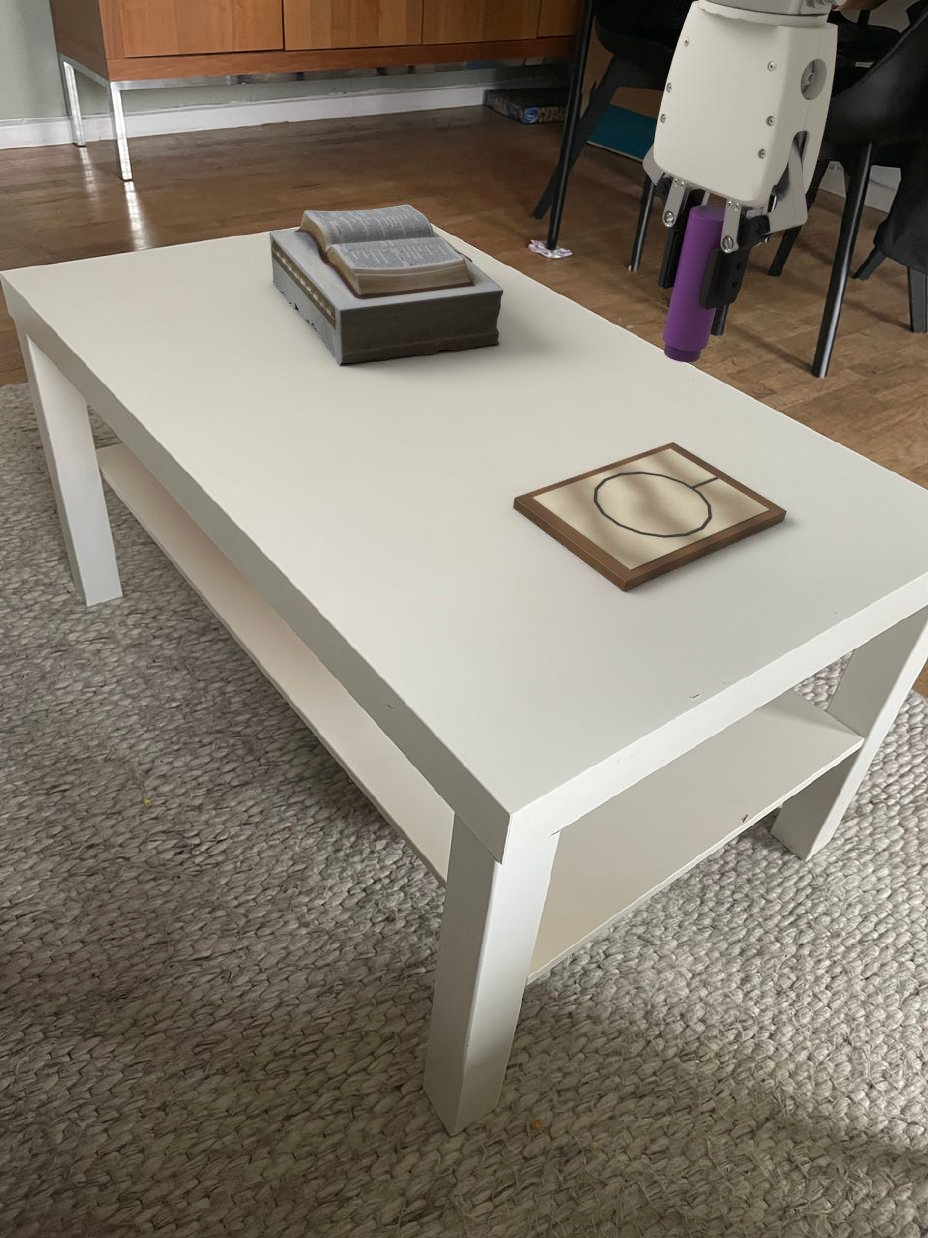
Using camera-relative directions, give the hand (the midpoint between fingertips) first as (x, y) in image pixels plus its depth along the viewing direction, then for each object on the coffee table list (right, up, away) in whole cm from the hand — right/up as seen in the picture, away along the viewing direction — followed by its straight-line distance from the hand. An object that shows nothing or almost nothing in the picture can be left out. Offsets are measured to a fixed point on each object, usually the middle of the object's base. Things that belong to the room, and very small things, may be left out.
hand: (696, 291), depth 70 cm
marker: (0, -4, +3) cm, 5 cm away
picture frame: (0, -13, +19) cm, 23 cm away
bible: (-26, +13, +48) cm, 56 cm away
